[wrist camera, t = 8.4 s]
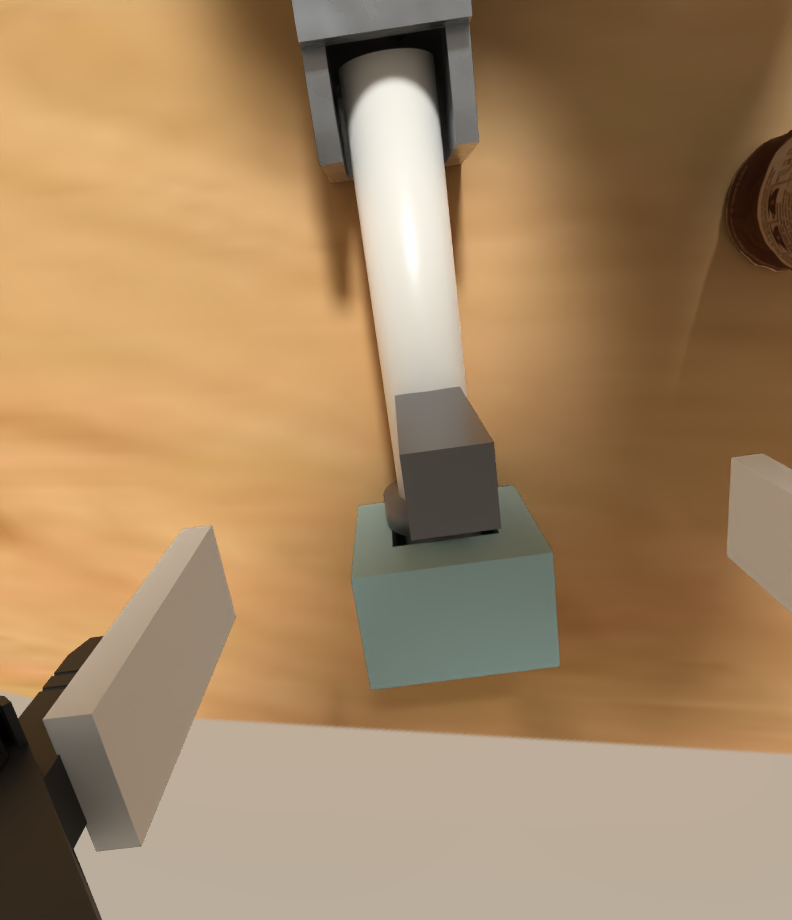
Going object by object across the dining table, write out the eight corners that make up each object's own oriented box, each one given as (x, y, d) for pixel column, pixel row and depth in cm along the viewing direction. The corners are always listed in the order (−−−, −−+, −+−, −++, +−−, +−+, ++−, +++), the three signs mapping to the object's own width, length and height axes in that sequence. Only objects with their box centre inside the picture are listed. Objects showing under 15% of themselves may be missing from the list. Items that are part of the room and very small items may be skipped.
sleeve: (284, -121, 26) (252, -243, 20) (433, -144, 26) (448, -275, 19) (331, 183, 30) (317, 161, 23) (461, 164, 29) (482, 137, 23)
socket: (358, 505, 35) (350, 578, 27) (513, 484, 35) (553, 552, 27) (373, 596, 37) (370, 690, 29) (521, 577, 37) (560, 666, 28)
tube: (325, 93, 28) (274, -54, 15) (445, 75, 28) (500, -90, 15) (397, 571, 36) (405, 748, 23) (492, 559, 36) (554, 730, 23)
